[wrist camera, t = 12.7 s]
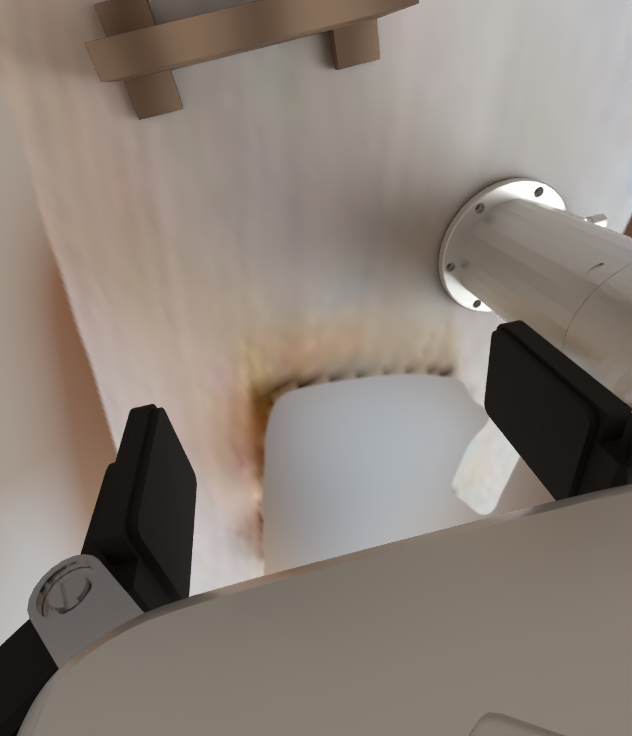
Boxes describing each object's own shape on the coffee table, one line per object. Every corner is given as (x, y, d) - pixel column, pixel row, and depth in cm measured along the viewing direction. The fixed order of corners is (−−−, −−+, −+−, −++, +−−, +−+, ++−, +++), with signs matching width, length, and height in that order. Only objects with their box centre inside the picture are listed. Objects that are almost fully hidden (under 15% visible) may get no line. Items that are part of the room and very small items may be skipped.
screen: (364, -57, 26) (414, -101, 20) (375, 59, 30) (421, 54, 24) (97, 6, 26) (59, -18, 19) (141, 118, 29) (121, 130, 23)
